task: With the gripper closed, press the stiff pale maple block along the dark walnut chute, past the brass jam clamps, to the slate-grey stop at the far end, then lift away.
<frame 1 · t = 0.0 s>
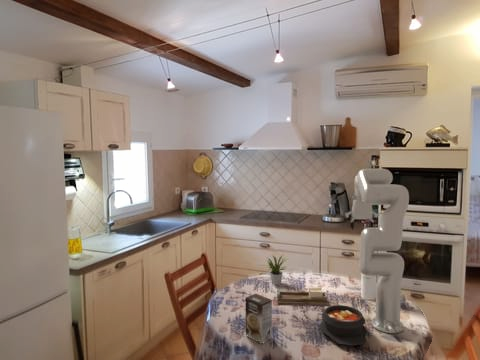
hand: (361, 229, 189), 31 cm above the table, tool pointing down, fingers open, 9 cm apart
casserole: (343, 333, 143), on the table
chute: (301, 299, 174), on the table
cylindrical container: (368, 297, 176), on the table
jammed block: (315, 293, 173), point 3 cm above the table, slide at 0.0 cm
house plant: (278, 283, 196), on the table
coffee box: (258, 337, 140), on the table
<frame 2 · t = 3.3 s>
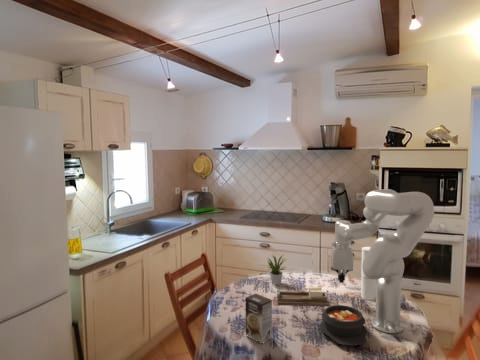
hand: (341, 281, 172), 9 cm above the table, tool pointing down, fingers closed
nothing on the table moved.
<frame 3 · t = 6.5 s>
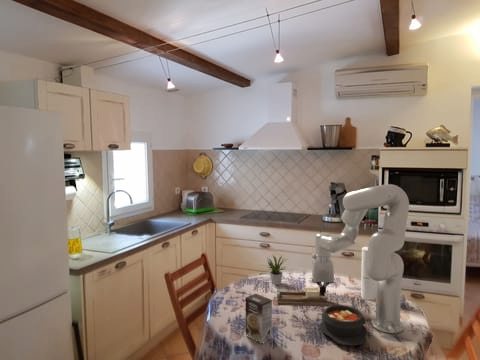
hand: (322, 294, 173), 3 cm above the table, tool pointing down, fingers closed
jammed block: (312, 293, 173), point 3 cm above the table, slide at 1.5 cm, touching gripper
everything else where it was.
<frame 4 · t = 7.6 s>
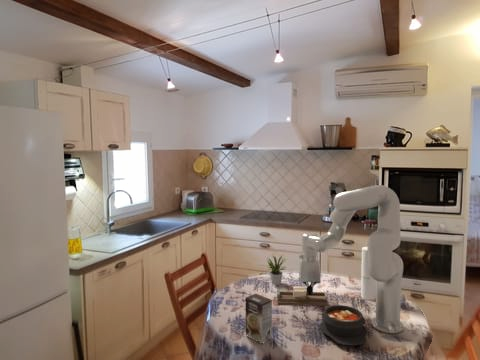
hand: (309, 293, 174), 3 cm above the table, tool pointing down, fingers closed
jammed block: (299, 293, 174), point 3 cm above the table, slide at 7.9 cm, touching gripper
everything else where it was.
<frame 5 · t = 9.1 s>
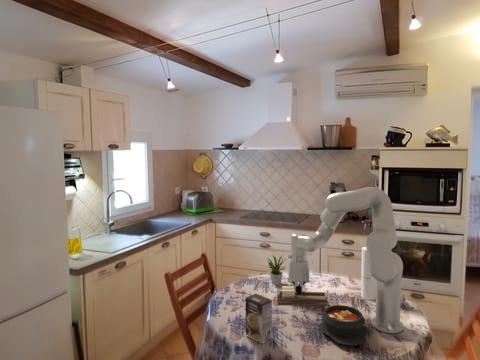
hand: (298, 293, 174), 3 cm above the table, tool pointing down, fingers closed
jammed block: (288, 292, 175), point 3 cm above the table, slide at 13.4 cm, touching gripper
everything else where it was.
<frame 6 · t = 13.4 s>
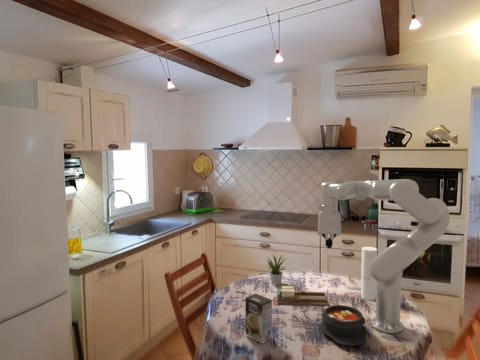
hand: (328, 247, 163), 29 cm above the table, tool pointing down, fingers closed
jammed block: (288, 292, 175), point 3 cm above the table, slide at 13.6 cm
everything else where it was.
at the end: jammed block slide at 13.6 cm; the gripper is holding nothing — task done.
